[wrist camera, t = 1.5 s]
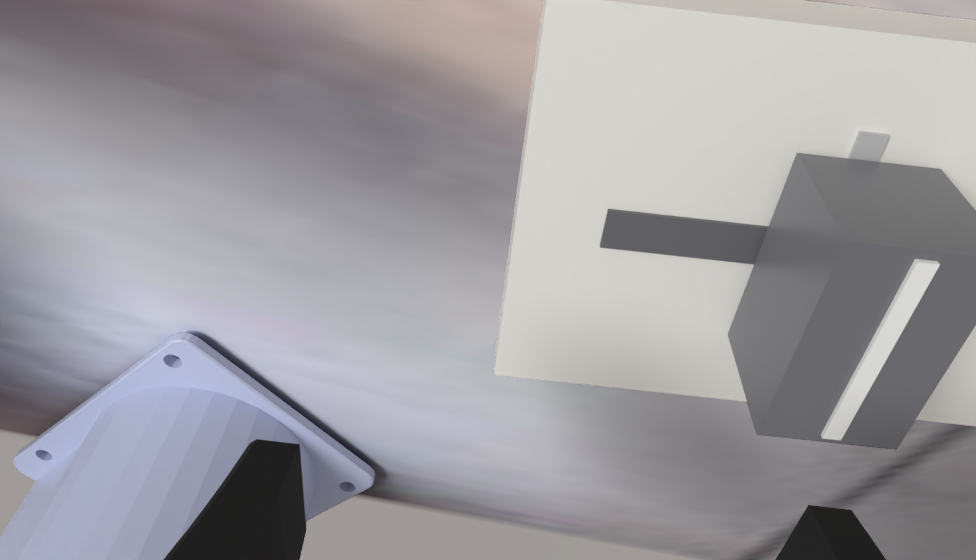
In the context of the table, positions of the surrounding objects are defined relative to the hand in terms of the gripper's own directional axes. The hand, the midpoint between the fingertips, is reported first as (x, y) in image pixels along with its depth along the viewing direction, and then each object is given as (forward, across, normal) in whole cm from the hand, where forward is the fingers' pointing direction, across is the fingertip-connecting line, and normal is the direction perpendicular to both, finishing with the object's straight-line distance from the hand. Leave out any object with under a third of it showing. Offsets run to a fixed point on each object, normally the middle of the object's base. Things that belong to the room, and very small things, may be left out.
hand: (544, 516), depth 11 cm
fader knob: (+8, -6, 0) cm, 10 cm away
